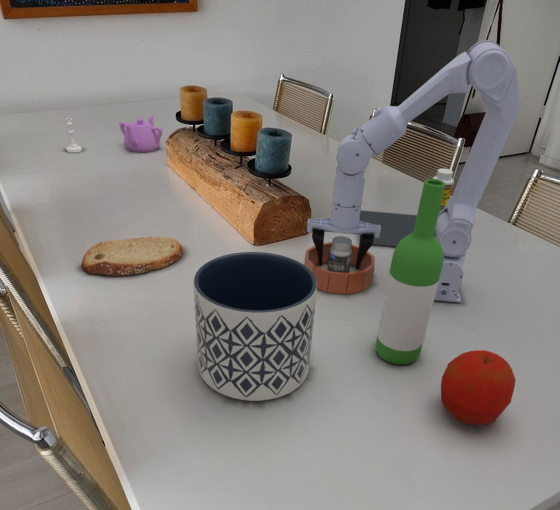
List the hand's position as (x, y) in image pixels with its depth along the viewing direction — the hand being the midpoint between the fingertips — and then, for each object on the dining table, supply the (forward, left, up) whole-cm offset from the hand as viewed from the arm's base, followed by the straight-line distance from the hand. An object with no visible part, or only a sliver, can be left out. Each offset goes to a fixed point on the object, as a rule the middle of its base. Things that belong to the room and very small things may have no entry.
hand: (338, 265), depth 114 cm
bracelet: (0, 0, -3) cm, 3 cm away
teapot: (+76, +66, -3) cm, 101 cm away
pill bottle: (0, 0, -3) cm, 3 cm away
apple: (-40, -21, -3) cm, 45 cm away
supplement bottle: (+44, -26, -3) cm, 51 cm away
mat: (+27, -15, -3) cm, 31 cm away
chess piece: (+68, +86, -3) cm, 110 cm away
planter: (-34, +13, -3) cm, 37 cm away
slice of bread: (-1, +44, -3) cm, 44 cm away
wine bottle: (-26, -11, -3) cm, 28 cm away
